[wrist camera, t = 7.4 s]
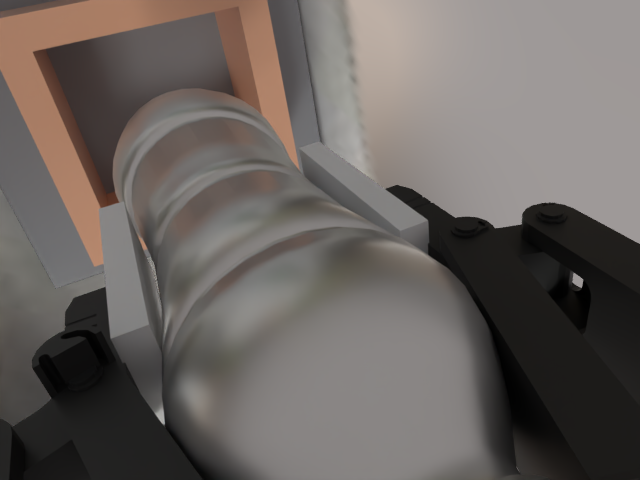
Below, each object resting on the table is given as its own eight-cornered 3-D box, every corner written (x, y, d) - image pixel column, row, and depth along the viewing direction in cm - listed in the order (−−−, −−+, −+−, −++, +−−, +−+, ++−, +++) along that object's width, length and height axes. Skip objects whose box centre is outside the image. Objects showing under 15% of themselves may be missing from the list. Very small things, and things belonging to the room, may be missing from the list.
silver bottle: (192, 39, 19) (778, 410, 3) (295, 160, 23) (788, 596, 7) (70, 154, 20) (40, 1073, 3) (193, 254, 23) (454, 895, 7)
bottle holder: (323, 191, 39) (365, 228, 34) (55, 281, 34) (51, 343, 28) (271, -120, 29) (319, -141, 23) (-127, -59, 24) (-190, -67, 18)
